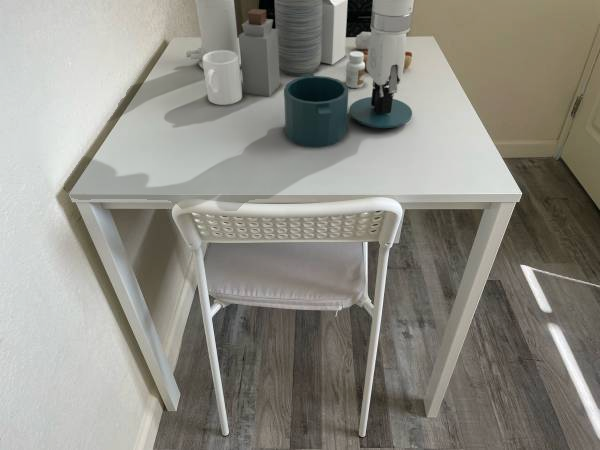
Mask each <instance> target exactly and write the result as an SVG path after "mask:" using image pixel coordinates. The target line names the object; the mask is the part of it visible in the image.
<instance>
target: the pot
mask: <svg viewBox="0 0 600 450" xmlns="http://www.w3.org/2000/svg"><path fill="white" fill-rule="evenodd" d="M349 91H350V90H349V87H348V86H347V85H346V82H343V81H341V80H340V79H339V78H333V77H330V76H325V75H324V76H322V75H315V74H314V73H311V74H306V75H303V76H301V77H299V78H295V79H293V80H291V81H289V82H288V83H287V84H286V85H285V86H284V88H283V98H284V100H283V101H284V127H285V128H284V129H285V135H286V137H287V138H288V139H289V140H290V141H291V142H292V143H295V144H297V145H300V146H304V147H307V148H323V147H328V146H333V145H335V144H337V143H339V142H340V141H342V140H343V139H344V137H346V136H345V135H346V131H347V123H348V122H347V121H348V107H349Z"/></svg>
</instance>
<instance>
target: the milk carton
mask: <svg viewBox="0 0 600 450" xmlns="http://www.w3.org/2000/svg"><path fill="white" fill-rule="evenodd" d="M348 1H349V0H323V5H322V48H321V62H320V63H324V64H328V65H335V64H336V63H337V62H339V61H340V60H341V59H343V58H344V57H345V55H346V52H345V51H346V38H347V37H346V36H347V19H348Z"/></svg>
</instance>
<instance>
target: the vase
mask: <svg viewBox="0 0 600 450" xmlns="http://www.w3.org/2000/svg"><path fill="white" fill-rule="evenodd" d="M322 5H323V0H274V20H275V21H274V23H275V29H277V31H278V56H279V68H281V69H282V71H283V72H284V73H285V74H287V75H290V76H293V77H294V76H296V77H303V75H306V74H314V72H316V69H317V68H318V67H319V66H320V64H321V63H322V62H321V48H322Z"/></svg>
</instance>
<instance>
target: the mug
mask: <svg viewBox="0 0 600 450" xmlns="http://www.w3.org/2000/svg"><path fill="white" fill-rule="evenodd" d="M202 61H203V67H204V69H203V72H204V73H203V74H204V79H205V86H206V93H207V99H208V101H209V102H210V103H211V104H214V105H219V106H226V105H227V106H229V105H233V104H235V103H238V102H239V101H241V100H242V98H243V86H242V78H241V76H242V75H241V69H240V68H241V67H240V66H239V56H238V55H237V54H236V53H235V52H232V51H227V50H218V51H213V52H209V53H207V54H205V55H204V56H203V58H202Z"/></svg>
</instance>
